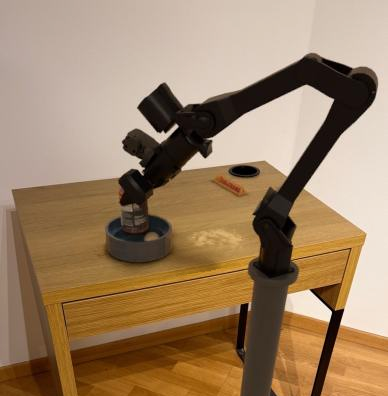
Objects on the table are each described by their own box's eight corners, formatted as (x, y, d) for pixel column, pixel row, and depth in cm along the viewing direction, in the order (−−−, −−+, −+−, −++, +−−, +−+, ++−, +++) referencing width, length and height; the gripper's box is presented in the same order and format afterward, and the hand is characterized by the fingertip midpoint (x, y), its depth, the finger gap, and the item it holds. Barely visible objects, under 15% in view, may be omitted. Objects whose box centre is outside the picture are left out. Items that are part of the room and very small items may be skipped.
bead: (159, 252, 108) (165, 239, 105) (145, 251, 106) (150, 237, 103) (153, 243, 110) (158, 229, 108) (139, 241, 108) (144, 228, 106)
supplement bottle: (136, 220, 111) (133, 170, 104) (154, 228, 108) (152, 177, 101) (116, 228, 108) (111, 177, 101) (134, 237, 105) (130, 185, 98)
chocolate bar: (221, 179, 142) (221, 172, 141) (246, 194, 134) (247, 186, 133) (213, 181, 141) (214, 173, 140) (238, 195, 133) (239, 187, 132)
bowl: (183, 255, 106) (183, 234, 103) (121, 270, 101) (120, 248, 98) (155, 229, 116) (154, 209, 113) (97, 241, 111) (95, 220, 107)
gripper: (167, 105, 99) (122, 154, 109) (123, 129, 85) (77, 183, 95) (202, 151, 102) (156, 194, 112) (166, 181, 88) (116, 227, 98)
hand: (127, 198), depth 104 cm, fingers closed on supplement bottle, 6 cm apart
